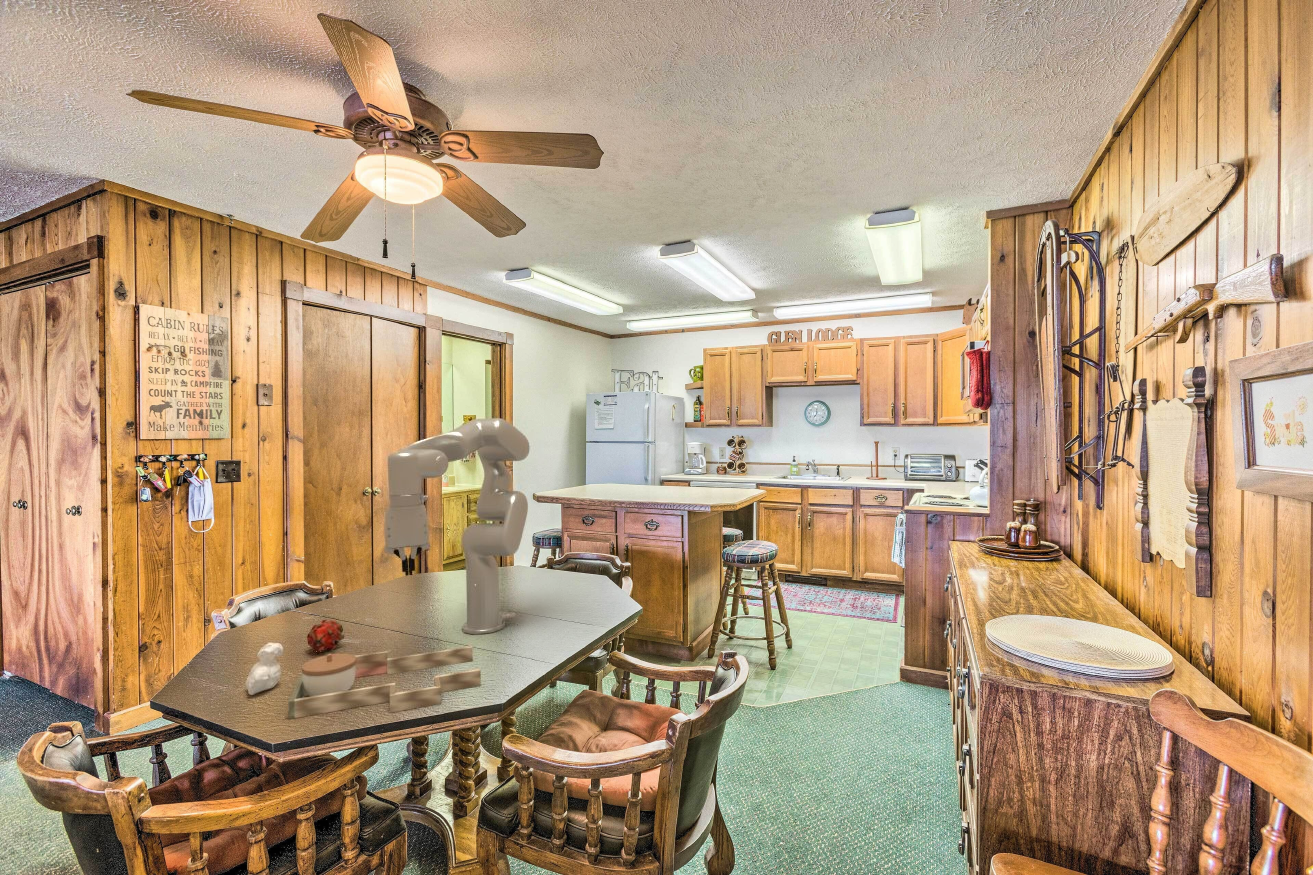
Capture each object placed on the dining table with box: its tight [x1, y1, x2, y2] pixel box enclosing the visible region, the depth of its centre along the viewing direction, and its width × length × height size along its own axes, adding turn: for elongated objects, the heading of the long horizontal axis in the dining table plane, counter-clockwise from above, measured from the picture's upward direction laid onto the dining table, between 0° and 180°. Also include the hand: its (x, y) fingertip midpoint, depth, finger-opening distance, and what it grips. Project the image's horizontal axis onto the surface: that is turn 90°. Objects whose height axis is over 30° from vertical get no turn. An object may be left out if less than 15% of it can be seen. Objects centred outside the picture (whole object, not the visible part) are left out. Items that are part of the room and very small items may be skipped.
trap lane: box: [288, 645, 482, 720], centre depth 137 cm, size 38×30×4 cm
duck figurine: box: [245, 641, 284, 696], centre depth 138 cm, size 12×8×11 cm
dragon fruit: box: [306, 619, 346, 655], centre depth 163 cm, size 8×8×12 cm
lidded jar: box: [301, 653, 357, 697], centre depth 132 cm, size 11×11×9 cm
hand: (408, 574), depth 148 cm, fingers closed
